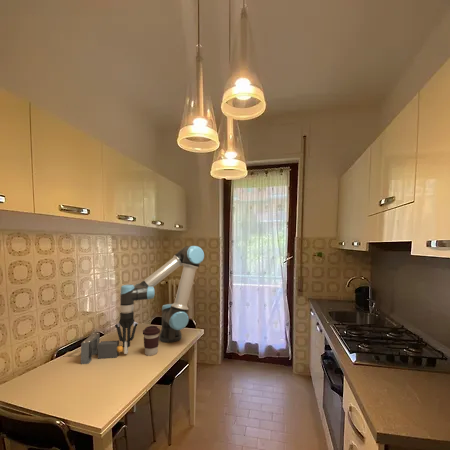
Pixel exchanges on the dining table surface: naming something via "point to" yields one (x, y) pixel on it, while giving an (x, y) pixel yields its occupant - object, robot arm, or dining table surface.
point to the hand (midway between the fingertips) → (126, 352)
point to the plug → (109, 349)
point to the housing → (89, 348)
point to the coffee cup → (151, 340)
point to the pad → (73, 353)
